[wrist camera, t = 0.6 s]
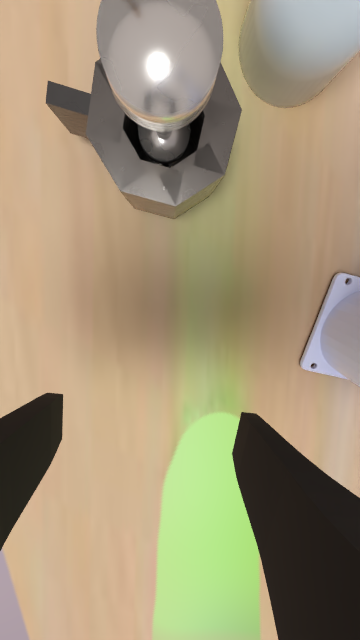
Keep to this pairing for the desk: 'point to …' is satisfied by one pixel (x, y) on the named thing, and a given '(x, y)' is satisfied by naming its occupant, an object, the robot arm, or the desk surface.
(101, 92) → the grey octagonal pot
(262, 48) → the white dome with tab
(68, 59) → the desk surface
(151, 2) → the grey flared round piece
